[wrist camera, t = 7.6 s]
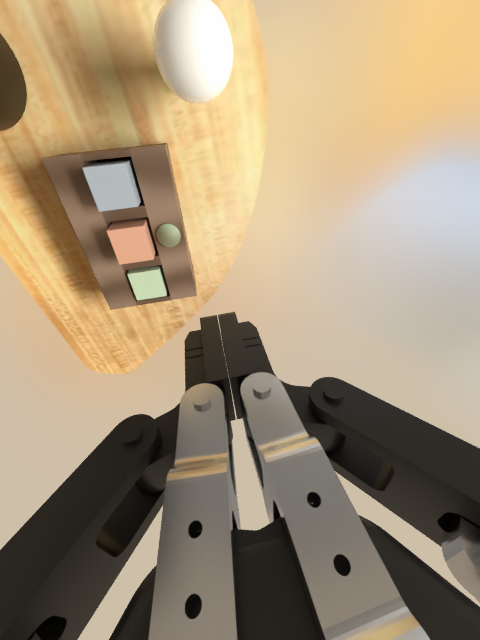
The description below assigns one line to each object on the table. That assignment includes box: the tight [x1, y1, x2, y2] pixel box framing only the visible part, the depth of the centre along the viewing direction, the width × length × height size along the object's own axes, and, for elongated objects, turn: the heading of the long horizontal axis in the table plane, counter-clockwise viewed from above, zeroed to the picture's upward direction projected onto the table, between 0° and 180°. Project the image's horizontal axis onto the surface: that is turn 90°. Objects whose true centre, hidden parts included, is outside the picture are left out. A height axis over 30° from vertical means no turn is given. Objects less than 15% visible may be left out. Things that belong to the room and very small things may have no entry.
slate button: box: [82, 159, 143, 212], centre depth 28 cm, size 4×4×4 cm
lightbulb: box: [153, 0, 233, 104], centre depth 23 cm, size 6×6×11 cm
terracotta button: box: [107, 217, 156, 265], centre depth 32 cm, size 4×4×4 cm
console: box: [42, 143, 197, 310], centre depth 33 cm, size 18×12×5 cm, turn 5°
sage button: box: [127, 265, 168, 301], centre depth 37 cm, size 4×4×4 cm
